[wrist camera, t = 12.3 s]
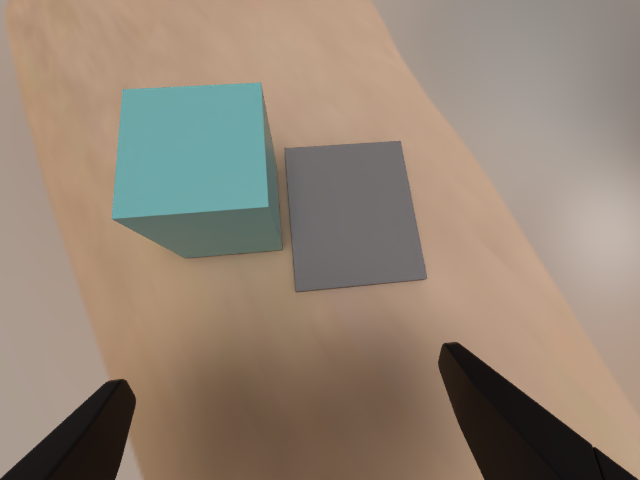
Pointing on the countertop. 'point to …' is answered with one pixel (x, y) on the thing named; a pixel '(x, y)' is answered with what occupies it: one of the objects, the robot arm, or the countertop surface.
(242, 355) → the countertop surface
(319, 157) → the mat
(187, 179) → the teal rectangular block
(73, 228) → the countertop surface
